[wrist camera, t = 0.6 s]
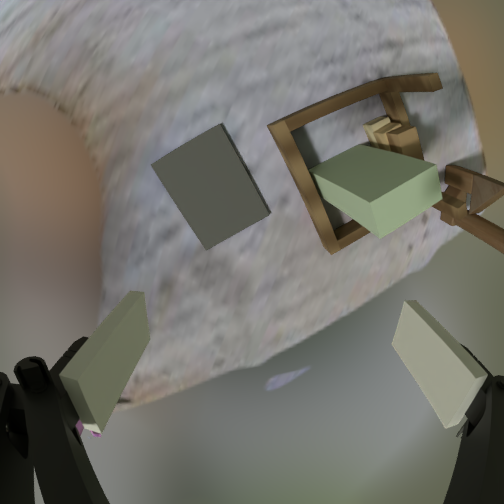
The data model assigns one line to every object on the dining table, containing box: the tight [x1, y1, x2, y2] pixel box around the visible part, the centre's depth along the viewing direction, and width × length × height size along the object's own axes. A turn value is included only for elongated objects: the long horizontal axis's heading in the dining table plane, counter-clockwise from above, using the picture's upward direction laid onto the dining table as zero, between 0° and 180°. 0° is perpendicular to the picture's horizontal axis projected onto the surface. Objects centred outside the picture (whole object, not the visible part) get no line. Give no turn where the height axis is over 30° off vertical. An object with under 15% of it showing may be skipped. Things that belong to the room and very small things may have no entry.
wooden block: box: [440, 165, 504, 254], centre depth 35 cm, size 4×11×18 cm, turn 5°
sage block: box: [308, 144, 442, 239], centre depth 31 cm, size 4×9×16 cm, turn 118°
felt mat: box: [151, 124, 269, 250], centre depth 36 cm, size 14×10×1 cm
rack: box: [267, 73, 467, 255], centre depth 33 cm, size 20×20×12 cm
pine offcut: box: [363, 117, 390, 149], centre depth 37 cm, size 9×4×3 cm, turn 29°
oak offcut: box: [373, 122, 401, 152], centre depth 35 cm, size 8×4×3 cm, turn 33°
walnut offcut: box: [386, 125, 424, 161], centre depth 32 cm, size 7×4×3 cm, turn 26°
